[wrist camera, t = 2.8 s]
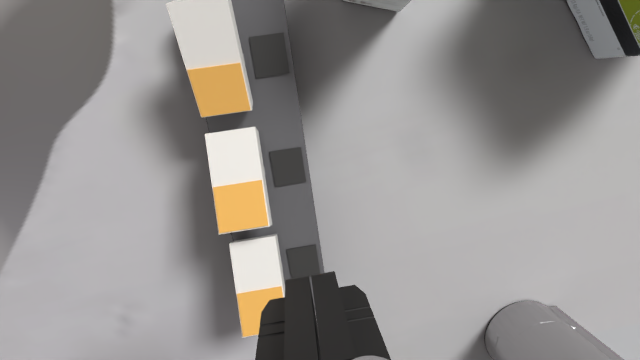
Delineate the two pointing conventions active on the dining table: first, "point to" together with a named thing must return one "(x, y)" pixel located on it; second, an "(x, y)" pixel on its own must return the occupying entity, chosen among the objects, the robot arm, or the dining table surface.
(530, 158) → the dining table surface
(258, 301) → the block
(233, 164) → the block
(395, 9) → the skincare box
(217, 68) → the block
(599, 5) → the tea box
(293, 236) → the power strip
